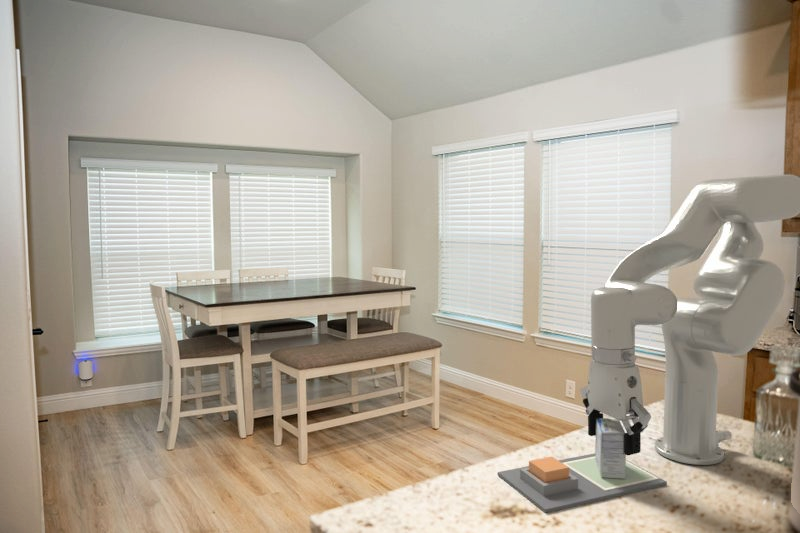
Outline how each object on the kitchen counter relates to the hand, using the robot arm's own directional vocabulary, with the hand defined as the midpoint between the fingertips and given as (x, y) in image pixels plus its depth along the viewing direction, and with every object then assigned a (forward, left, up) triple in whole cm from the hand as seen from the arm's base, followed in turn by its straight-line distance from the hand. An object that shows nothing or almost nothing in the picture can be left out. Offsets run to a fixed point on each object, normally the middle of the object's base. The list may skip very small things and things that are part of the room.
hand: (613, 443), depth 110 cm
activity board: (+7, 0, -6) cm, 9 cm away
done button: (+14, 0, -4) cm, 15 cm away
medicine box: (+1, 0, -5) cm, 5 cm away
